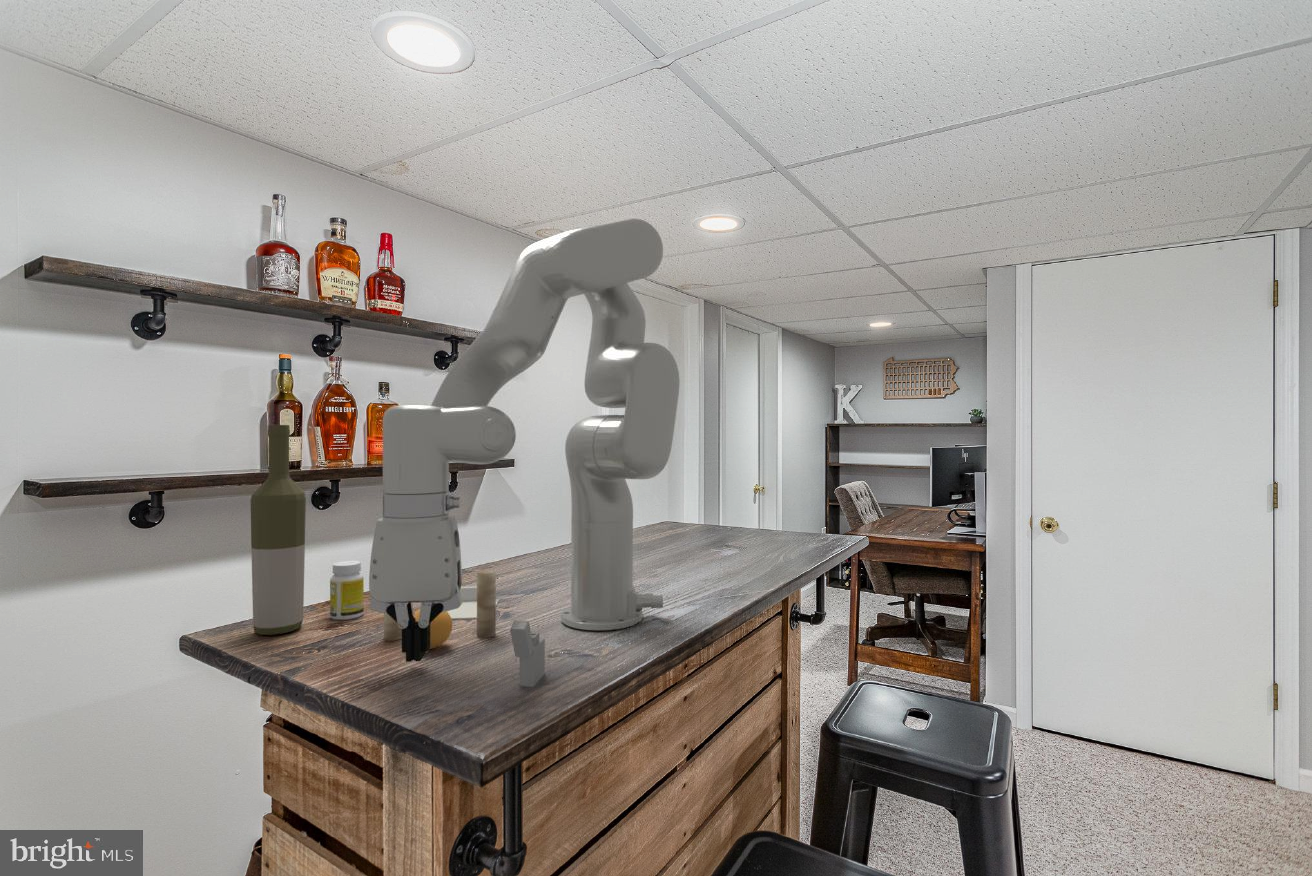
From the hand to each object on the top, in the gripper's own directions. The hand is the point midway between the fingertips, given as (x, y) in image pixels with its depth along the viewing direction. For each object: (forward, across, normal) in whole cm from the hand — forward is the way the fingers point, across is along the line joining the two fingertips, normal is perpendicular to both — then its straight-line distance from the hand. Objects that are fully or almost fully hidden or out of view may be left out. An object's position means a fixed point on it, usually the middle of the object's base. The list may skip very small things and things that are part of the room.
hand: (416, 657), depth 78 cm
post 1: (+2, +6, -13) cm, 15 cm away
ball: (-1, 0, -8) cm, 8 cm away
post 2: (+2, -6, -13) cm, 15 cm away
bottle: (+2, +24, -18) cm, 30 cm away
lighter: (+2, -14, +6) cm, 15 cm away
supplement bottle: (+2, +17, -25) cm, 30 cm away
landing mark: (+2, 0, -27) cm, 27 cm away
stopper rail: (+2, 0, -32) cm, 32 cm away
